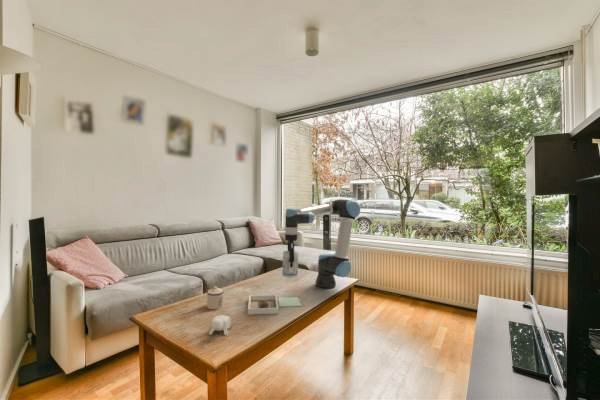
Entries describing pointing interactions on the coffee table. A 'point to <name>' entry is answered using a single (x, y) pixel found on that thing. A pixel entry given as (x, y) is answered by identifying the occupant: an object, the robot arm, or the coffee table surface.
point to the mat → (289, 302)
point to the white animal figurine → (220, 324)
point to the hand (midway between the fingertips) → (290, 269)
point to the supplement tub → (286, 265)
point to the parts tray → (263, 310)
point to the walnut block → (263, 304)
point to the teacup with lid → (215, 298)
